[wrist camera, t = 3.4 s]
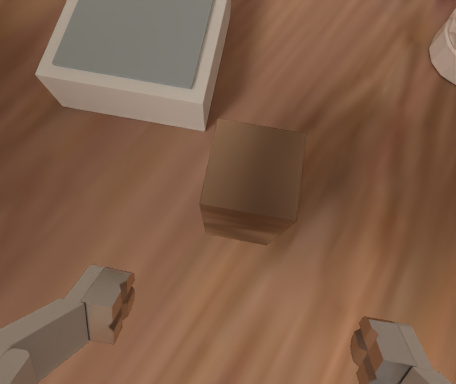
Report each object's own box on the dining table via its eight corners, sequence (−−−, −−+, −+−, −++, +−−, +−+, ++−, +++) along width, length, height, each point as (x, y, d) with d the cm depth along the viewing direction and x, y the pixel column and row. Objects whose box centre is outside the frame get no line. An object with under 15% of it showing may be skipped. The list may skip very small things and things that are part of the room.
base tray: (62, 106, 25) (32, 72, 21) (105, -3, 29) (86, -51, 24) (205, 131, 25) (202, 102, 21) (230, 18, 28) (232, -26, 24)
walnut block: (206, 233, 22) (199, 203, 14) (217, 178, 24) (217, 117, 15) (265, 245, 22) (296, 221, 14) (273, 188, 24) (306, 133, 15)
